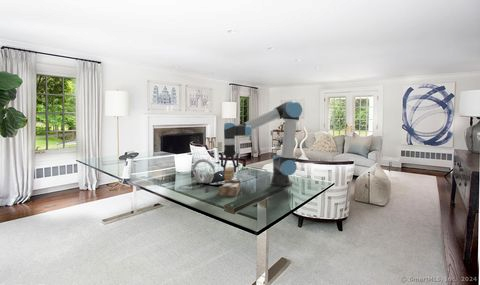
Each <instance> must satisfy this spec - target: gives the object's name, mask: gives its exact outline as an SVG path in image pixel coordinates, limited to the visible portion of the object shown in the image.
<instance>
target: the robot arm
mask: <svg viewBox="0 0 480 285" xmlns="http://www.w3.org/2000/svg"><path fill="white" fill-rule="evenodd" d="M302 113H303V107H302V105H301V103H300V102H298V101H295V100H290V101H286V102H284V103H282V104H280V105H278V106H276V107H274V108H273V109H272V110H270V111H268V112H266V113H264V114H262V115H259V116H257V117H255V118H251V119H249V120H248V121H245V122H243V123H240V124H237V125H236V124H235V122H225V123H224V125H223V137H224V138H223V139H224V140H223V141H224V142H223V143H224V146H223V148H224V151H223V152H220V167H222V168H223V172H224V171H225V170H226V169H227V168H228V167H227V163H228V160H229V159H231V162H232V166H233V167H234V168H233V178H235V176H236V173H237V168H238V167H239V166H240V165H239V156H240V153H239V152H236V146H235V144H236V140H235V139H236V138H235V137H249V136H250V137H251V135H252V131H253V130H255V129H257V128H260V127H262V126H265V125H267V124H269V123H271V122H273V121H276V120H281V119H282V120H283V122H284V127H283V137H282V148H281V149H282V150H281V154H280V155H273V157H272V171H273V172H272V173H273V174H272V176H271V180H270V184H271V186H272V185H273V186H276V187H288V186H289V185H291V181H290V177H289V176H291V175H294V174H295V173H296V172H297V171H296V170H297V167H298V166H297V163H296V156H295V155H294V153H295V152H294V151H295V144H296V143H295V142H296V132H297V124H298V122H299V121H300V116H301V115H302ZM224 156H225V159H224ZM235 157H236V158H235ZM228 158H229V159H228Z"/></svg>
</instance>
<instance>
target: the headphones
mask: <svg viewBox="0 0 480 285" xmlns="http://www.w3.org/2000/svg"><path fill="white" fill-rule="evenodd" d="M199 163H206V164H208V165H209V166H210V167H211V169H212V170H213V172H212V171H207V172H206V174H205V176H204V174H203V172H201V171H200V170H198V171H196V172H195V169H196V167H197V165H199ZM192 173H193V176H194V180H195V182H196V183H198V184H202V183H204V184H210V183H212V181H213V179H214V176H215V173H216V169H215V165H214V164H213V162H212V161H210V160H209V159H205V158H202V159H198V160H197V161H196V162H194V164H193V166H192Z"/></svg>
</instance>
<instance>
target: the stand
mask: <svg viewBox="0 0 480 285" xmlns="http://www.w3.org/2000/svg"><path fill="white" fill-rule="evenodd" d="M240 191H241V180H239V179H238V180H237V179H236V180H235V179H234V180H233V179H232V180H229V179H224V182H223V184H222V185H220V186H219V187H218V193H219V194H218V196H228V197H229V196H233V197H234V196H237V195H238V194H239V192H240Z"/></svg>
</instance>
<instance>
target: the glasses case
mask: <svg viewBox="0 0 480 285" xmlns="http://www.w3.org/2000/svg"><path fill="white" fill-rule="evenodd" d="M233 168H234V166H233V167H231V166H228V167H227V169H226V170H225V171H224V170H223V173H224V175H223V176H224V180H233V179H234V177H233Z"/></svg>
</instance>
